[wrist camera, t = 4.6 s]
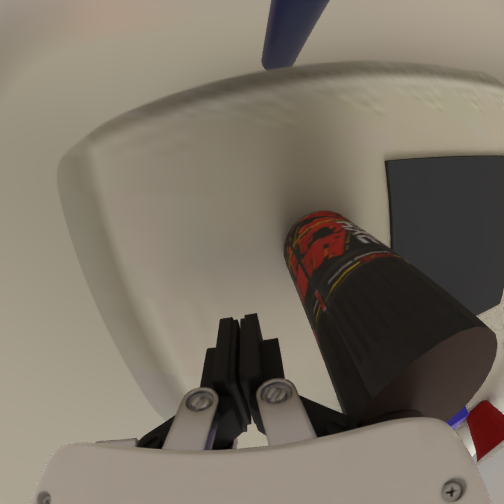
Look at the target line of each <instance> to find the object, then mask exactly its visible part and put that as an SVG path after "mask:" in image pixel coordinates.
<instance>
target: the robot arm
mask: <svg viewBox="0 0 504 504" xmlns="http://www.w3.org/2000/svg"><path fill="white" fill-rule="evenodd" d="M251 415H252V418H253V421H254V423H255V424H256V426H257V428H258V431H260V432H261V433H263V434H265V435H266V436H267V440H268V443H269V446H263V447H253V448H242V449H236V448H237V444H238V439H237V437H238V436H239V435H240V434H241V433H242V432H247V425H249V424H251ZM443 485H444V486H443ZM30 504H492V502H491V499H490V497H489V494H488V492H487V489H486V487H485V484H484V482H483V480H482V477H481V475H480V473H479V471H478V468H477V466H476V464H475V463H474V461H473V459H472V457H471V455H470V453H469V451H468V449H467V448H466V446H465V445H464V443H463V442H462V440H461V439H460V437H459V436H458V434H457V433H456V432H455V431H454V430H453V429H452V428H451V427H450V426H449V425H448V424H447V423H446V422H444V421H442V420H440V419H436V418H429V417H424V415H423V414H422V413H421V412H420V411H418V410H415V409H406V410H400V411H394V412H388V413H385V414H382V415H380V416H377V417H374V418H371V419H368V420H365V421H362V423H361V424H359V425H357V424H356V422H355V421H354V420H353V418H351V417H349V416H347V415H345V414H342V413H340V412H337V411H335V410H332V409H330V408H328V407H325V406H323V405H320V404H318V403H316V402H314V401H311V400H309V399H307V398H304V397H302V396H300V395H299V394H298V392H297V390H296V387H295V386H294V384H293V383H292V382H291V381H289V380H287V379H285V377H284V371H283V364H282V358H281V353H280V347H279V342H278V338H275V339H269V340H263V338H262V334H261V329H260V325H259V320H258V316H257V313H254V314H249V315H245V318H244V319H241V322H240V326H239V323H238V320H233V318H232V317H230V318H223V319H220V323H219V330H218V337H217V344H216V347H215V348H208V349H207V351H206V357H205V362H204V368H203V373H202V379H201V385H200V387H199V388H196V389H193V390H191V391H189V392H188V393H187V394H186V395H185V396H184V397H183V399H182V401H181V404H180V406H179V409H178V411H177V413H176V415H175V416H173V417H172V418H170V419H169V420H167V421H166V422H165V423H163V424H162V425H160V426H158V427H157V428H155V429H154V430H152V431H151V432H149V433H148V434H146V435H145V436H143V437H142V438H141V439H140V440H138V439H137V438H132V439H122V440H109V441H99V442H96V443H75V444H68V445H65V446H62V447H60V448H58V449H56V450H55V451H54V453H53V454H52V455H51V456H50V458H49V460H48V461H47V463H46V465H45V466H44V468H43V471H42V473H41V475H40V477H39V480H38V482H37V484H36V487H35V489H34V492H33V495H32V498H31V501H30Z"/></svg>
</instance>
